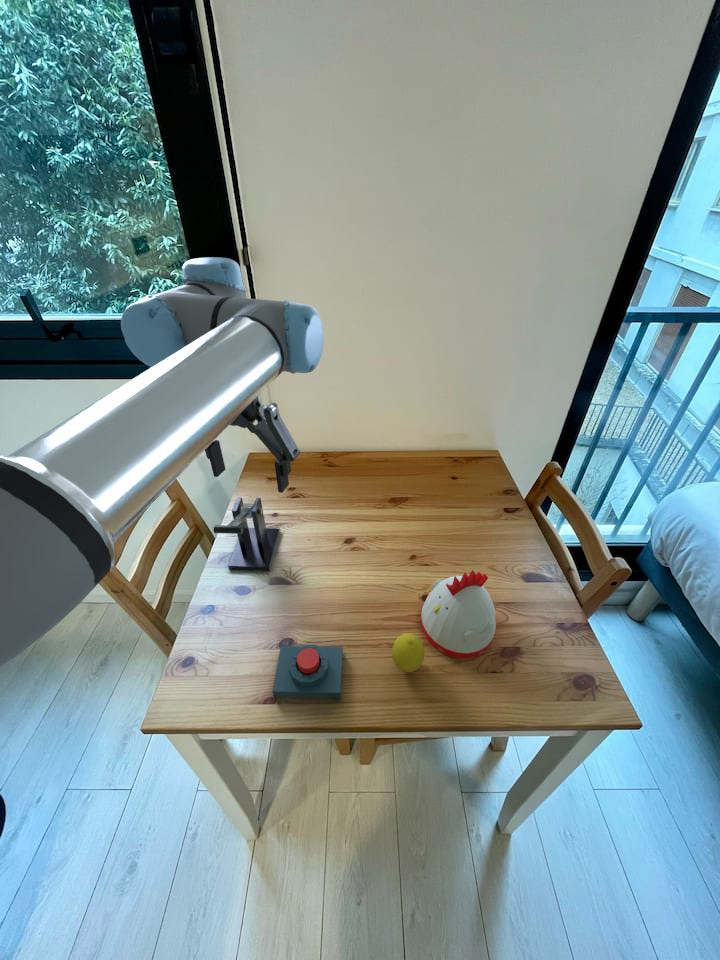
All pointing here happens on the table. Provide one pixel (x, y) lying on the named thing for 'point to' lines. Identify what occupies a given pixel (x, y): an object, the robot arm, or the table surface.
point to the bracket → (254, 541)
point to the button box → (309, 685)
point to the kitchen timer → (459, 616)
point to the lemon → (408, 652)
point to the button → (308, 661)
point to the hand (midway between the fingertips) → (251, 480)
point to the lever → (235, 521)
